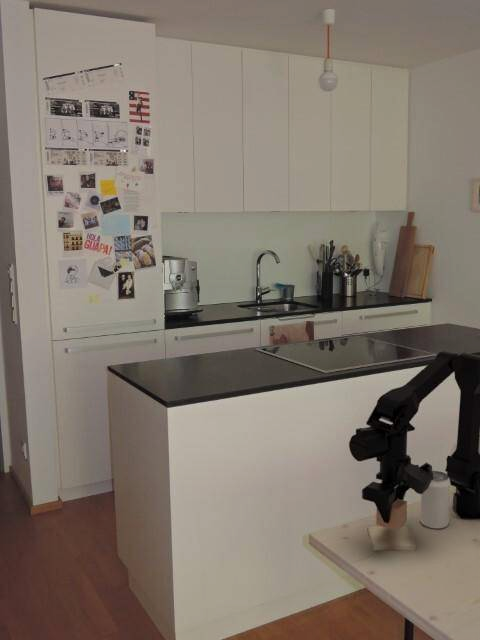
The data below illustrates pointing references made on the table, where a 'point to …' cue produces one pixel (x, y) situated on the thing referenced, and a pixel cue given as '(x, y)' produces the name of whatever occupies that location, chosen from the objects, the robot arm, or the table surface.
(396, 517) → the cube
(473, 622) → the table surface
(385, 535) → the coaster
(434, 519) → the can
